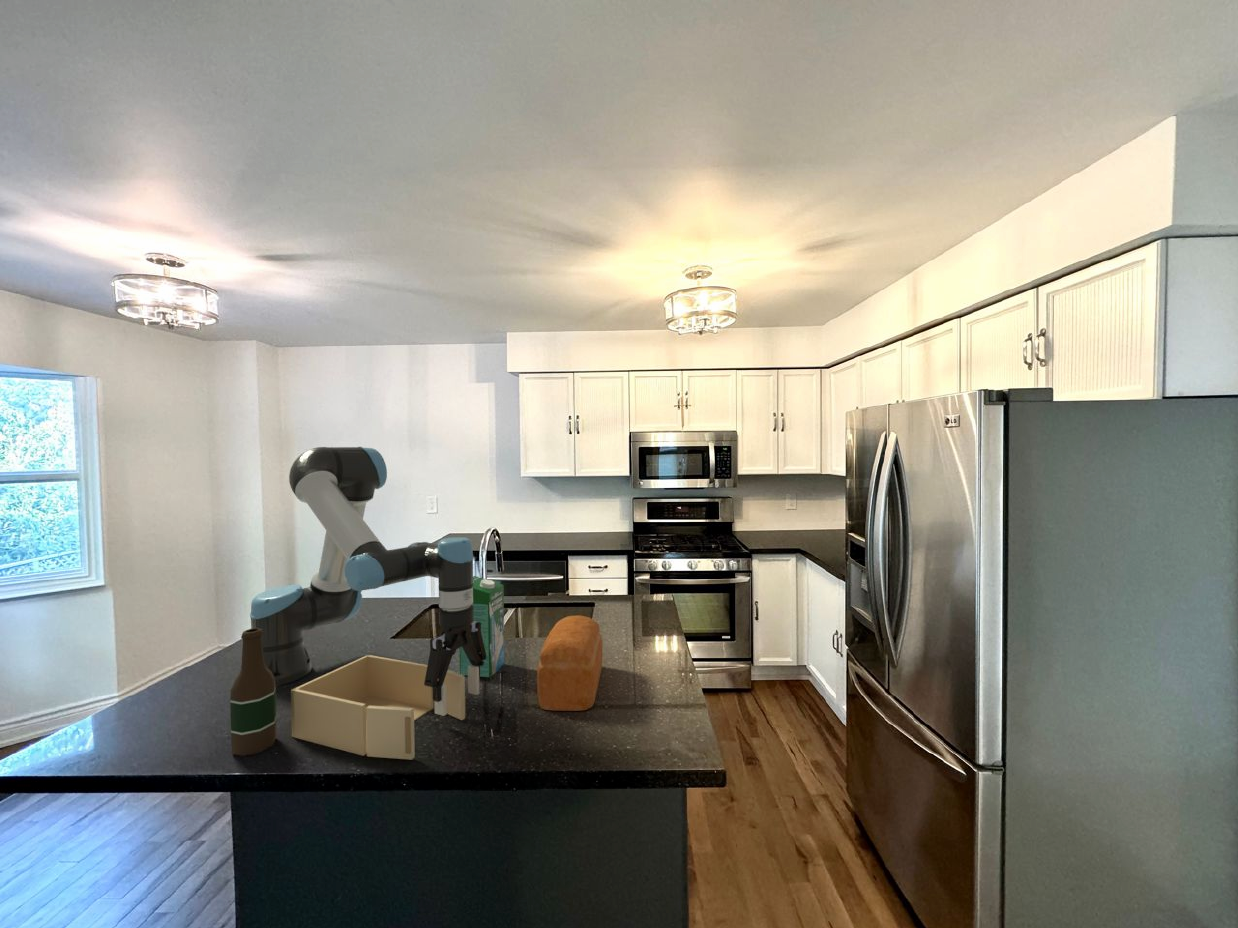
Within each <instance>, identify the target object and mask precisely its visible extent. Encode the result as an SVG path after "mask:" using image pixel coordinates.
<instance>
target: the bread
mask: <svg viewBox="0 0 1238 928" xmlns="http://www.w3.org/2000/svg"><path fill="white" fill-rule="evenodd" d="M538 661H539V662H538V665H537V670H536V673H537V675H536V682H537V683H536V685H537V686H536V687H537V688H536V689H537V698H538V703H539V705H538V706H539V707H540V708H541V709H542V710H546V711H559V712H560V711H561V712H562V711H563V712H565V711H569V712H571V711H575V712H576V711H586V710H589V709H591V708H592V707H593V706H594V703H595V701H596V696H597V692H598V689H599V682H600V677H601V673H602V669H603V668H602V667H603V637H602V635H601V629H600V626H599V623H598V622H596V621H595V620H594V619H592V618H591V617H588V616H584V615H582V614H581V615H580V614H579V615H568V616H566V617H564V618H561V619H560V620H558V621H557V622H556V623H555V624H554V626H553V628H552V629H551V630H550V631H549V634H548V635H547V637H546V639H545V641H544V644H543V646H542V648H541V651H540V656H539V660H538Z"/></svg>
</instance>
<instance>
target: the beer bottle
mask: <svg viewBox="0 0 1238 928" xmlns="http://www.w3.org/2000/svg"><path fill="white" fill-rule="evenodd" d="M262 634H263V631H262V629H259V628H253V629H251V628H249V629H246V630H244V631H242V634H241V635H240V636H241V637H240V638H241V639H242V649H241V651H242V652H241V666H240V671H239V674H238V675H237V677H236V678H235V680H234V681H233V684H232V687H231V690H230V699H229V702H230V703H229V704H230V705H229V707H230V743H231V744H230V745H231V753H232V754H233V755H235V756H239V755H240V756H239V757H247V756H246V755H248V756H251V755H256V754H260V753H262V752H263V751H266V750H267V749H269V748H271V747H272V746H274V745H275V743H276V742H275V741H276V739H277V738H276V737H277V729H278V727H277V726H278V724H277V722H278V721H277V689H276V688H277V686H276V685H275V678H274V676H273V674H272V672H271V671H270V670H269V669H268V668H267V667H266V665H265V661H264V655H263V645H262Z"/></svg>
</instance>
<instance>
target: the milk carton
mask: <svg viewBox="0 0 1238 928" xmlns="http://www.w3.org/2000/svg"><path fill="white" fill-rule="evenodd" d="M504 587H505V586H504V584H501V583H499V582H495V580H491V579H487V578H486V579H485V578H482V577H480V576H476V575H473V604H472V606H473V608H474V620H473V621H476V622H480V623H481V634H482V639H483V643H484V647H485V652H486V659H485V660H482V661H484V665H483V666H480V677H481V678H482V677H483V678H492V677H493V676H494V675H495V674H496V673H497V672H498V671H499V670H500V669H501V668H502V667H503V666H504V665H505V612H504V611H505V604H504V603H505V601H504V600H505V599H504V595H505V594H504V592H505V591H504ZM470 637H471V636H470ZM458 650H459V651H458V652H459V654H458V655H459V674H461V675H463V676H468V666H469V665H472V664H471V663H470V661H469V659H468V657H467V655H466V653H465V652H464V650H463V648H462V646H461V647H459V648H458ZM480 654H481V653H480Z"/></svg>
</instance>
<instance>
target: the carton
mask: <svg viewBox="0 0 1238 928" xmlns="http://www.w3.org/2000/svg"><path fill="white" fill-rule="evenodd" d="M427 666H428V664H423V663H417V662H412V661H406V660H399V659H394V658H390V657H389V658H388V657H382V656H377V655H371V654H366V655H365V656H363V657H360V658H358V659H356V660H354V661H351V662H349V663H347V664H345V665H343V666H340V667H337V668H336V669H334V670H332V671H330V672H327V673H326V674H323V675H320V676H319V677H316V678H314V679H312V680H310V681H308V682H305V683H303V684H302V685H299V686H296V687H294V688H291V690H290V707H291V708H290V709H291V710H290V711H291V712H290V713H291V737H292V738H295V739H299V740H303V741H306V742H311V743H314V744H317V745H321V746H325V747H329V748H332V749H337V750H340V751H343V752H344V751H345V752H347V753H352V754H356V755H359V756H366V755H367V728H366V708H367V707H368V706H386V707H403V708H414V722H415V721H417V720H418V719H420V718H421V717H423V716H424V715H425V714H427V713H428V712H430V711H432V710H434V701H433V692H432V687H428V686H425V685H424V682H425V676H426V671H427Z"/></svg>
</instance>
